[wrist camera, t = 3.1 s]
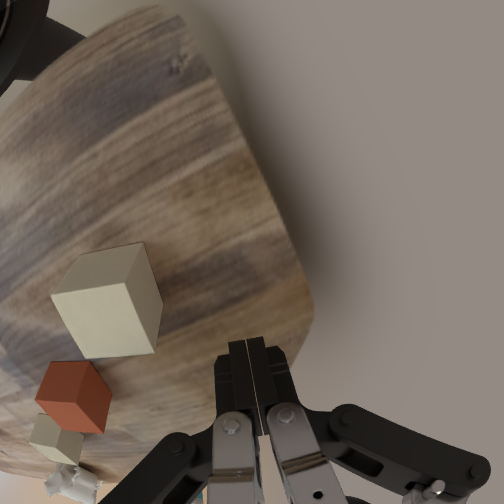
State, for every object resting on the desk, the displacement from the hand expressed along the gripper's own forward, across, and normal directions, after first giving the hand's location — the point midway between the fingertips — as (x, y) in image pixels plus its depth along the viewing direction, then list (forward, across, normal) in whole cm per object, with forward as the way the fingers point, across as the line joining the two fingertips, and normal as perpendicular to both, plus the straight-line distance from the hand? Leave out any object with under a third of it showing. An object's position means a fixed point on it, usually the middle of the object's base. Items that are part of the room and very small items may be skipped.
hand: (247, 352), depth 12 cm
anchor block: (+8, +17, +10) cm, 21 cm away
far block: (+8, +27, +20) cm, 34 cm away
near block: (+8, +8, 0) cm, 11 cm away
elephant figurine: (+8, +35, +36) cm, 51 cm away
